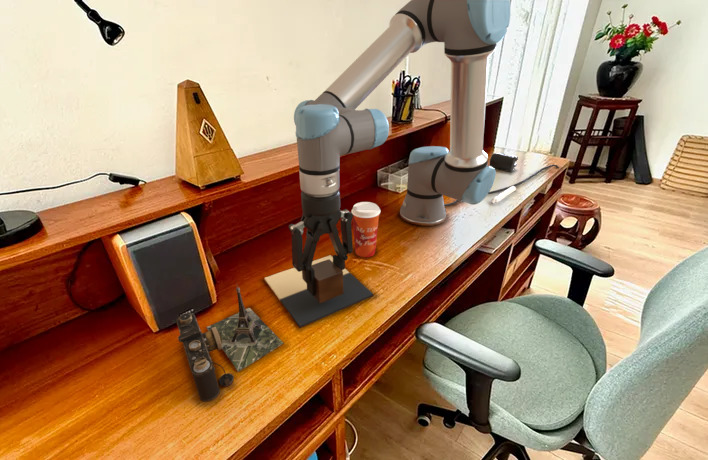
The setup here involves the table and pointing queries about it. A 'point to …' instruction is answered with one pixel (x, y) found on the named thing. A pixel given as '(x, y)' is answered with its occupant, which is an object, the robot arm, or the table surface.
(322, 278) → the walnut block
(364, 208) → the paper cup
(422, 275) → the table surface
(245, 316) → the eiffel tower figurine
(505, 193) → the marker
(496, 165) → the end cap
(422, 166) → the robot arm
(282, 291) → the sorting mat
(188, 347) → the camera
